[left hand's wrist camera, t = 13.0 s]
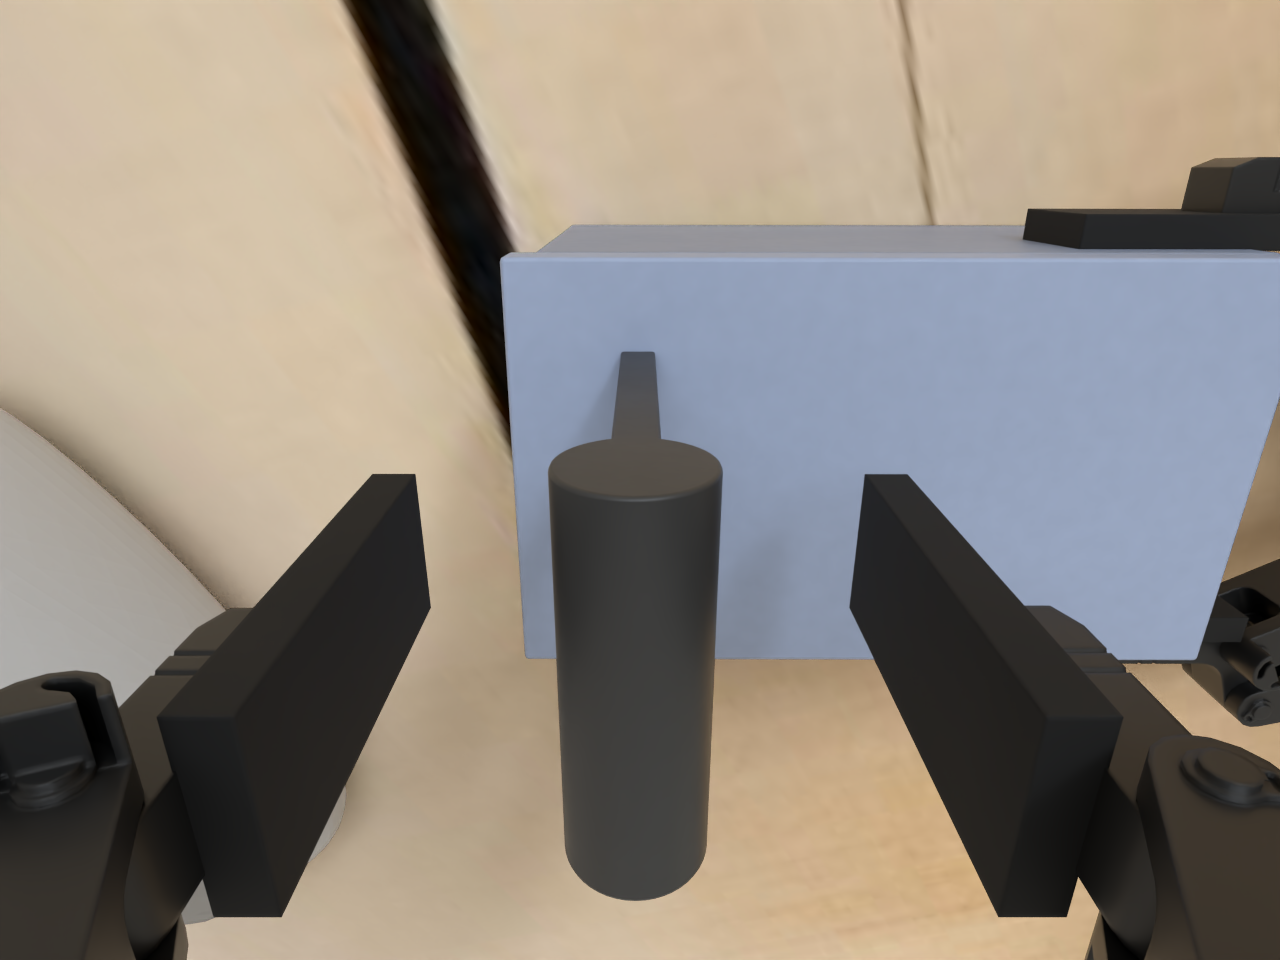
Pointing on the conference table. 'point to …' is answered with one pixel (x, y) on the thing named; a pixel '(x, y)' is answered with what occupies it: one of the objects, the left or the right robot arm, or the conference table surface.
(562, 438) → the lid
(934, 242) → the chest
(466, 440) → the conference table surface
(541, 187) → the conference table surface
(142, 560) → the projector
